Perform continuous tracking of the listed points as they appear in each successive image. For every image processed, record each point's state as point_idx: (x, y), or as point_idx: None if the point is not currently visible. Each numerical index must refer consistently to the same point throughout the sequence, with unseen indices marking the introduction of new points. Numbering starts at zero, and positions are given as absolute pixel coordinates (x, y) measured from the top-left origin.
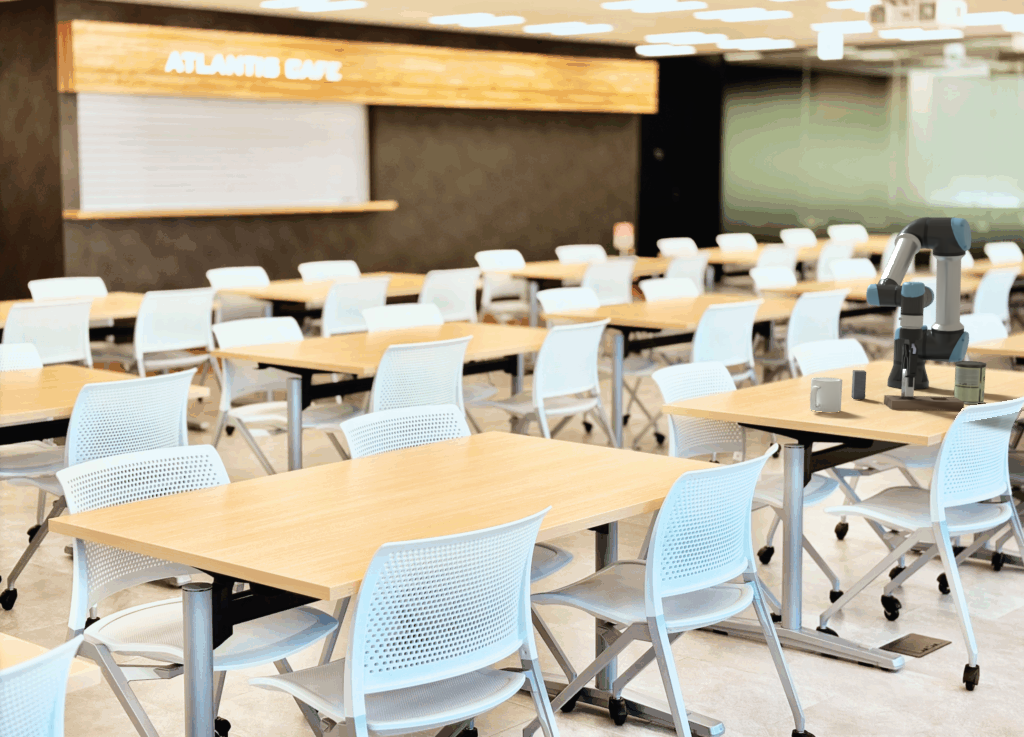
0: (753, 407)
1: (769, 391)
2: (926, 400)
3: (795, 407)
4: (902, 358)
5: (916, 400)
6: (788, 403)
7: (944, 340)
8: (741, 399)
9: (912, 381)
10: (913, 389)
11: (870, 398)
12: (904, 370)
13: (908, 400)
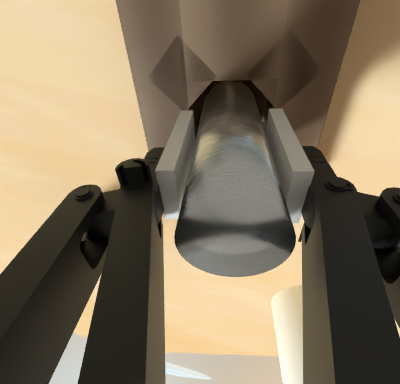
0: (265, 353)
1: (84, 320)
2: (313, 16)
3: (262, 324)
4: (55, 351)
5: (307, 89)
6: (215, 323)
7: None
8: (188, 349)
9: (330, 173)
10: (290, 127)
11: (65, 193)
12: (259, 268)
13: (304, 132)
